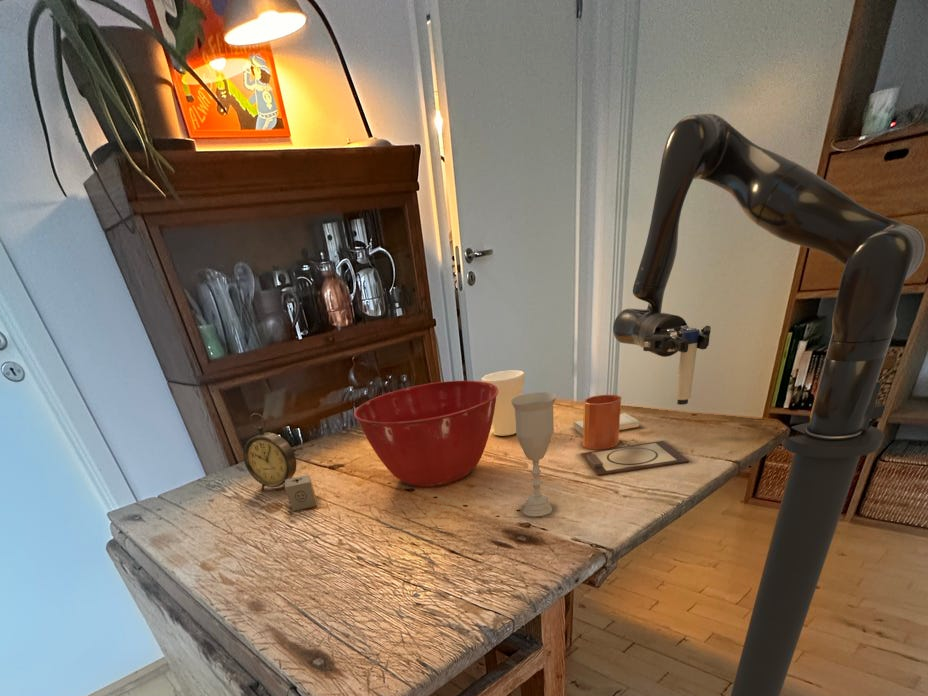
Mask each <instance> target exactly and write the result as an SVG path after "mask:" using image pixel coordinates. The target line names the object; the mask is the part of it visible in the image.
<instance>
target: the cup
mask: <svg viewBox="0 0 928 696" xmlns="http://www.w3.org/2000/svg"><path fill="white" fill-rule="evenodd" d="M480 381H481V382H487V383H490V384H493V385H495V386H496V387H497V388H498V394H497V396H496V403H495V409H494V415H493V420H492V429H493V434H494V435H496V436H511V435H514V434H516V420H515V408H514V406H513V404H512V403H511V400H512V399H513V398H515V397H517V396H521V395H523V386H524V382H525V372H524V371H523V370H516V369H515V370H514V369H513V370H512V369H511V370H501V371H496V372H492V373H488V374H486V375H483V376H482V378H481V380H480Z"/></svg>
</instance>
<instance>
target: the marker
mask: <svg viewBox="0 0 928 696" xmlns="http://www.w3.org/2000/svg"><path fill="white" fill-rule="evenodd" d="M699 331H701V329H699V328H698V329H697V328H696V329H692V330H685V331H683V332H682V337H683V338H686V339H688V340H689V344H688V351H687V352H685V353H682V352H680V355H679V363H678V364H679V365H678V374H677V380H676V381H677V383H676V391H675V400H677V401H676V404H677V405H678V406H679V405H680V406H685V405H687V404H689V400H690V399H691V397H692V391H693V389H692V388H693V380H694V374H695V365H696V356H697V350H698V348H697V343H698V339H699Z"/></svg>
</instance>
